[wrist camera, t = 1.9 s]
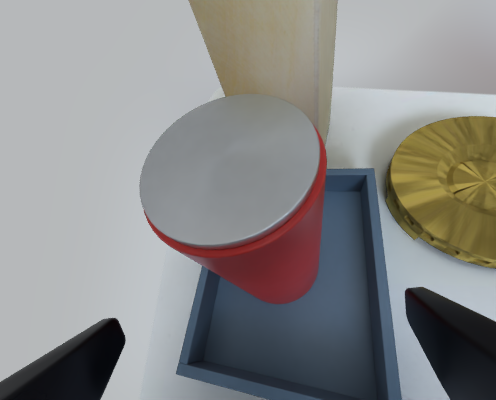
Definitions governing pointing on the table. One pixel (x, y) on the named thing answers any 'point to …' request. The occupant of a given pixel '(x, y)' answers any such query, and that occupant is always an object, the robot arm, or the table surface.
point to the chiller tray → (307, 316)
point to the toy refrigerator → (273, 50)
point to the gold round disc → (448, 187)
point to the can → (241, 193)
